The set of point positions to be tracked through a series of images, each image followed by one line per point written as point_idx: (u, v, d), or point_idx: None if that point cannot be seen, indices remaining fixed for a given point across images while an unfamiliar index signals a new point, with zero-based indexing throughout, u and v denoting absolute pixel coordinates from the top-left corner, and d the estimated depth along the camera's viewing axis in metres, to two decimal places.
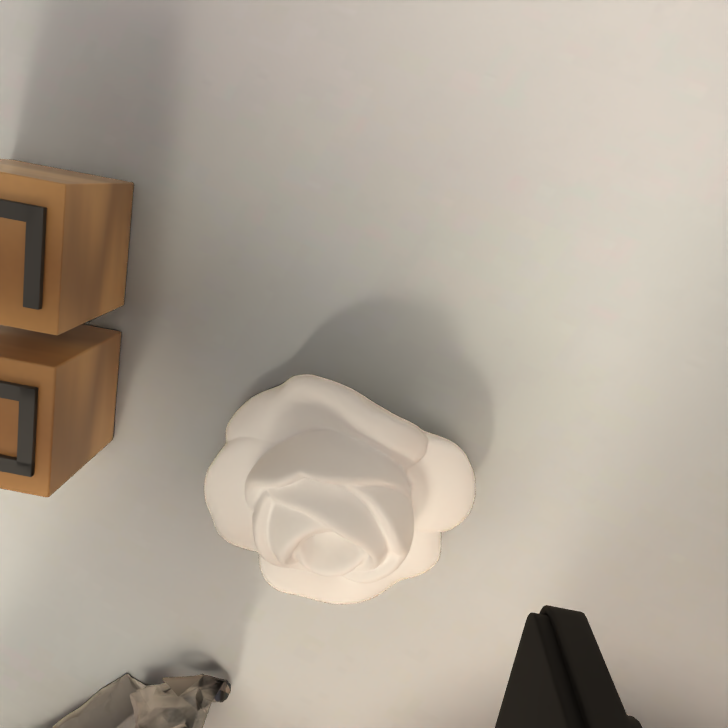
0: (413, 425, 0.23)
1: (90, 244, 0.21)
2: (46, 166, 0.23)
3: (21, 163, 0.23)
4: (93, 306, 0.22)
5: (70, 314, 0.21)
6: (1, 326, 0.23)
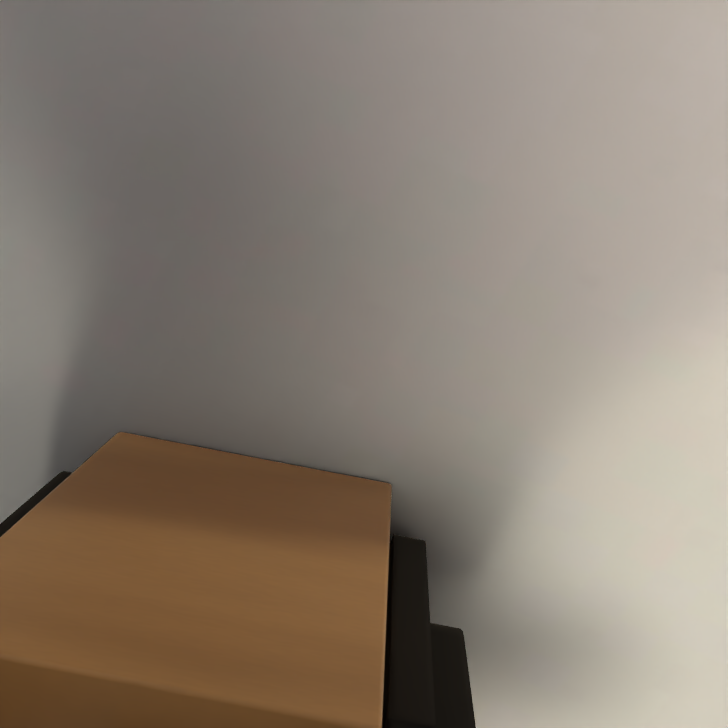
0: None
1: None
2: (201, 452, 0.11)
3: (154, 465, 0.10)
4: None
5: None
6: None
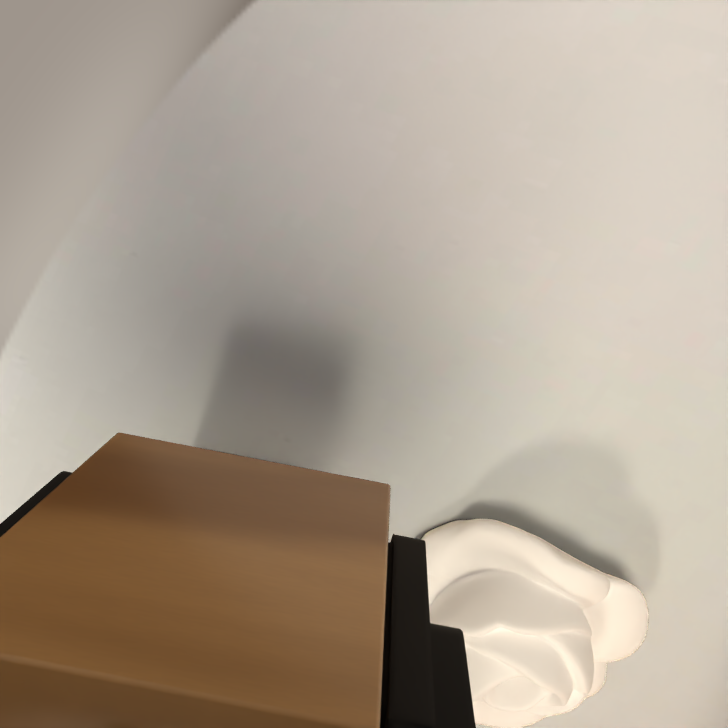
0: (601, 573, 0.24)
1: None
2: (200, 452, 0.11)
3: (153, 466, 0.10)
4: None
5: None
6: None
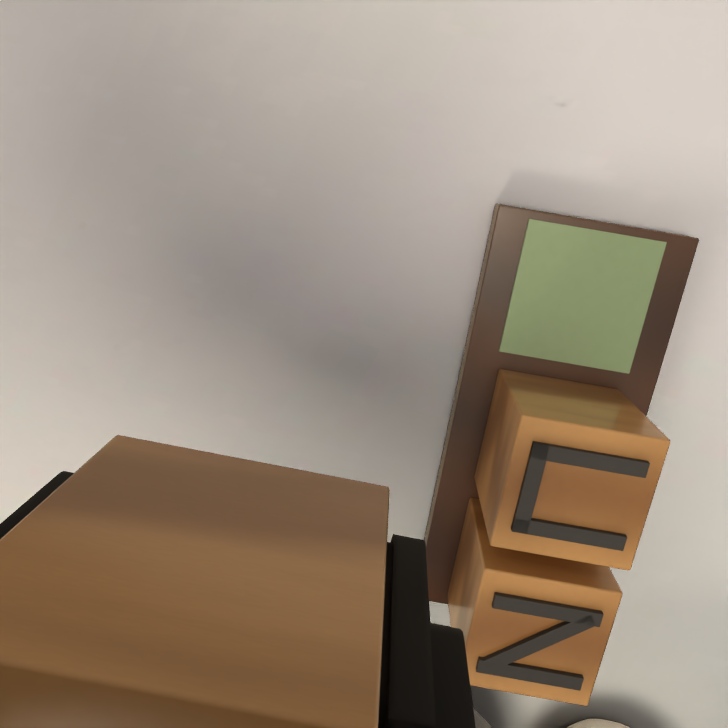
0: None
1: None
2: (198, 455, 0.11)
3: (152, 468, 0.10)
4: None
5: None
6: None
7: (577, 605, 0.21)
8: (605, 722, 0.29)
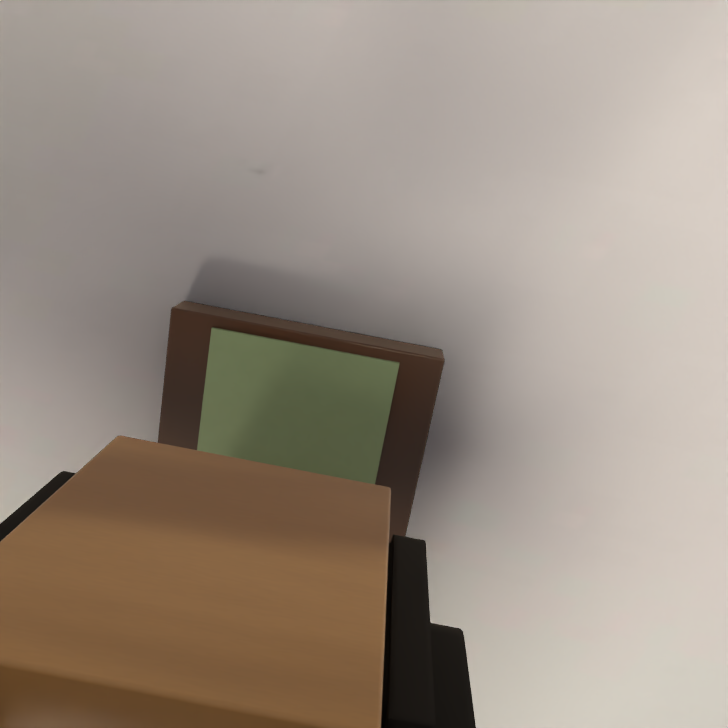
0: None
1: None
2: (200, 455, 0.11)
3: (153, 469, 0.10)
4: None
5: None
6: None
7: None
8: None
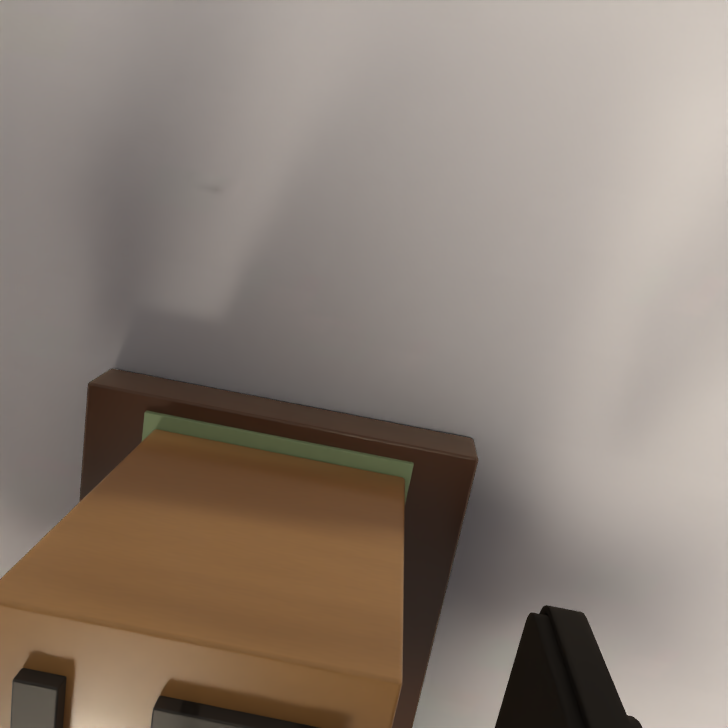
0: None
1: None
2: (230, 447, 0.12)
3: (189, 459, 0.11)
4: None
5: None
6: None
7: None
8: None
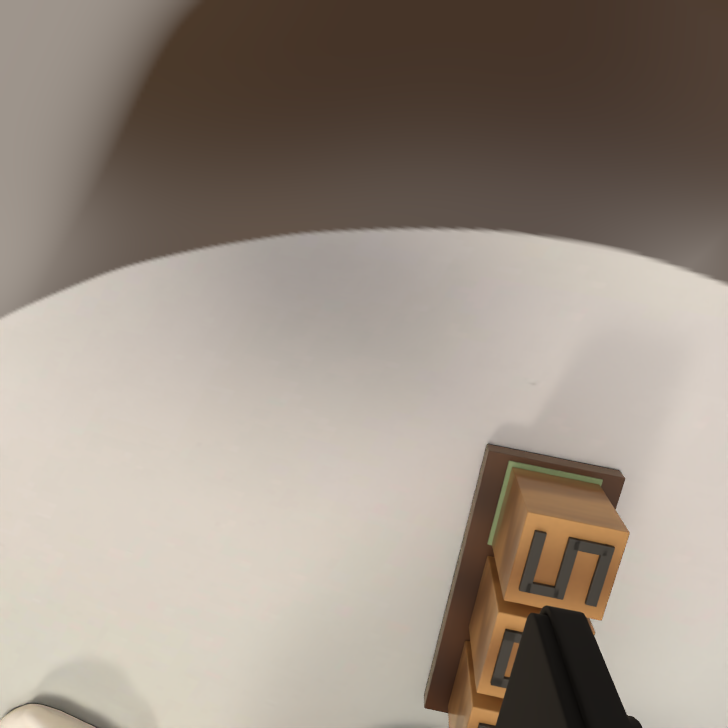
0: None
1: None
2: (540, 473, 0.34)
3: (533, 477, 0.33)
4: None
5: None
6: None
7: None
8: None
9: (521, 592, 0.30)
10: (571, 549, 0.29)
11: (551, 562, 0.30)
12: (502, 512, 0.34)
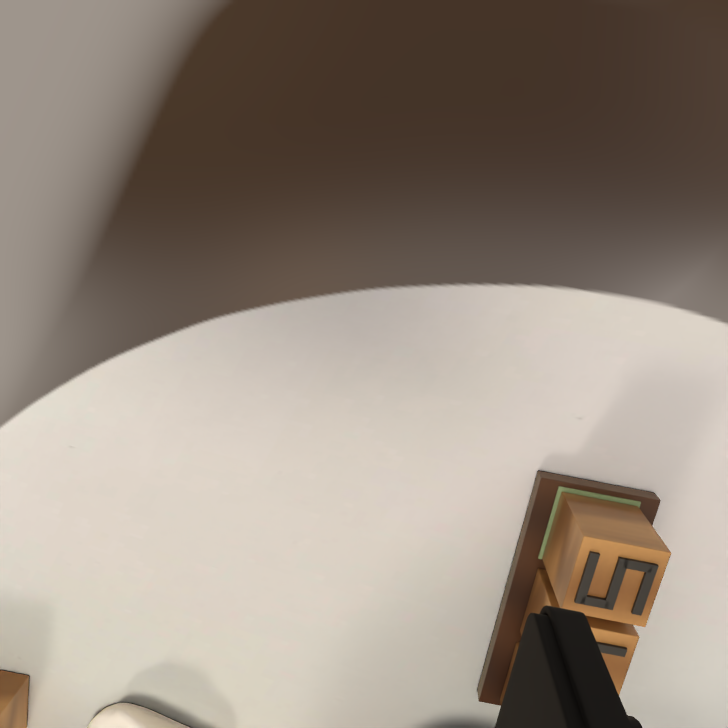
0: None
1: None
2: (586, 497, 0.38)
3: (581, 501, 0.38)
4: None
5: None
6: None
7: None
8: None
9: (576, 604, 0.35)
10: (620, 567, 0.34)
11: (602, 578, 0.34)
12: (553, 531, 0.39)
